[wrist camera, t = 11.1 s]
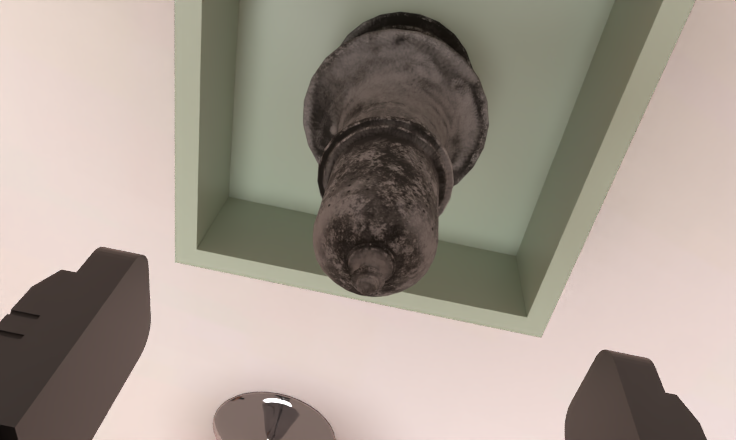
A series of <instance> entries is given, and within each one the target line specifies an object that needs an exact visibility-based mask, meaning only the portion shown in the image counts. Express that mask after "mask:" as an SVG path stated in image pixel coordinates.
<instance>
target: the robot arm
mask: <svg viewBox="0 0 736 440" xmlns="http://www.w3.org/2000/svg"><path fill="white" fill-rule="evenodd" d="M150 323H151V313H150V290H149V268H148V260H147V258H146V256H144V255H140V254H135V253H130V252H126V251H121V250H116V249H111V248H106V247H99V248H97V249H96V250H95V251H94V252H93V253H92V254H91V256H90V257H89V258H88V259H87V260H86V262H85V263H84V264H83V265H82V266H81V268H80V269H79V270H78V271H77V272H71V271H66V270H60V271H58V272H57V273H55V274H53V275H52V276H50V277H48V278H46V279H45V280H43V281H41V282H39V283H38V284H36V285H34V286H32V287H31V288H30V289H29V291H28V292H27V293H26V294H25V295H24V296H23V297H22V298H21V299H20V300H19V302H18V303H17V304H16V305H15V306H14V307H13V308H12V309H11V313H10V315H8V314H7V315H6V316H5V317H4V318H3V319H2V320H1V322H0V440H92V439H93V437H94V435H95V434H96V432H97V430H98V428H99V427H100V425H101V423H102V421H103V420H104V418H105V416H106V415H107V413H108V411H109V409H110V408H111V406H112V404H113V402H114V401H115V399H116V397H117V395H118V394H119V392H120V390H121V389H122V387H123V385H124V383H125V382H126V380H127V378H128V376H129V375H130V373H131V371H132V370H133V368H134V366H135V364H136V363H137V361H138V359H139V357H140V356H141V354H142V352H143V350H144V347H145V345H146V342H147V339H148V335H149V330H150ZM565 440H707V439H706V437H705V434H704V432H703V430H702V427H701V425H700V423H699V422H698V420H697V419H696V418H695V417H694V416H693V414H692V413H691V412H690V411H689V409H688V408H687V407H686V406H685V405H684V403H683V402H682V401H681V400H680V399H679V397H678V396H677V395H674V394H669V393H665V391H664V388H663V386H662V383H661V381H660V378H659V376H658V373H657V371H656V368H655V366H654V364H653V363H652V361H651V360H650V359H648V358H644V357H639V356H634V355H629V354H624V353H619V352H614V351H610V350H602V351H601V352H599V354H598V355H597V356H596V358H595V360H594V362H593V363H592V365H591V367H590V369H589V371H588V372H587V374H586V376H585V378H584V380H583V381H582V383H581V385H580V387H579V389H578V391H577V392H576V394H575V396H574V398H573V400H572V401H571V403H570V405H569V408H568V411H567V415H566V420H565Z"/></svg>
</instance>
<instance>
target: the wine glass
mask: <svg viewBox="0 0 736 440" xmlns="http://www.w3.org/2000/svg"><path fill="white" fill-rule="evenodd" d="M213 430H214V434H215V437H216V439H217V440H335V437H334V433H333V430H332V428H331V426H330V425H329V423H328V422H327V420H326V419H325V418H324V417H323V416H322V415H321V414H320V413H319V412H318V411H316V410H315V409H313V408H312V407H311V406H309V405H307V404H305V403H303V402H302V401H299V400H297V399H294V398H292V397H289V396H285V395H281V394H276V393H268V392H254V393H246V394H242V395H239V396H236V397H233V398H231V399H229V400H227V401H226V402H225V403H223V404H222V405H221V406H220V407H219V409H218V410H217V411H216V414H215V416H214V420H213Z"/></svg>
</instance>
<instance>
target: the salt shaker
mask: <svg viewBox="0 0 736 440" xmlns="http://www.w3.org/2000/svg"><path fill="white" fill-rule="evenodd" d="M303 126H304V130H305V134H306V139H307V143H308V146H309V148H310V150H311V152H312V153H313V155H314V157H315V159H316V161H317V163H318V178H317V182H318V186H319V191H320V196H321V198H322V202H321V205H320V208H319V211H318V214H317V217H316V220H315V223H314V228H313V247H314V252H315V256H316V260H317V261H318V263H319V265H320V267H321V268H322V270H323V272H324V273H325V274H326V275H327V276H328V277H329V278H330V279H331V280H332V281H333V282H335V283H336V284H337V285H339V286H340V287H342V288H344V289H345V290H347V291H349V292H352V293H355V294H357V295H361V296H368V297H382V296H388V295H392V294H395V293H399V292H402V291H404V290H406V289H408V288H409V287H411V286H413V285H415V284H416V283H417V282H418V281H419V280H420V279H421V278H422V277H423V276H424V275H425V274H426V273H427V271H428V269H429V268H430V266H431V264H432V262H433V260H434V258H435V255H436V251H437V246H438V228H439V216H440V215H441V214H442V213H443V212H444V210H445V208H446V206H447V204H448V202H449V200H450V198H451V194H452V189H453V186H455V185H457V184H458V183H459V182H460V181H461V180H462V179H463V178H464V177H465V176H466V175H467V174H468V173H469V171H470V170H471V169H472V168H473V167H474V165H475V163H476V162H477V160H478V158H479V156H480V154H481V152H482V151H483V149H484V146H485V141H486V137H487V132H488V128H489V116H488V101H487V98H486V95H485V93H484V90H483V87H482V84H481V82H480V79H479V77H478V76H477V74H476V73H475V72H474V70H473V67H472V65H471V62H470V59H469V56H468V54H467V51H466V49H465V48H464V46H463V45H462V44H461V42H460V41H459V39H458V38H457V37H456V35H455V34H454V33H453V32H451V31H450V30H449V29H448V28H446V27H445V26H444V25H442V24H441V23H440V22H438V21H436V20H433V19H431V18H429V17H426V16H424V15H421V14H416V13H408V12H394V13H388V14H381V15H378V16H376V17H374V18H372V19H369V20H367V21H365V22H363V23H361V24H360V25H359V26H358V27H357V28H355V29H354V30H353V31H352V32H350V33H349V34H348V35H347V36H346V38H345V39H344V41H343V42H342V44H341V45H340V46H339V47H338V48H337V49H336V50H335V51H333V52H332V53H331V54H330V55H328V56H327V57H326V58H325V59H324V61H323V62H322V64H321V65H320V66H319V68H318V69H317V71H316V72H315V74H314V75H313V77H312V78H311V81H310V84H309V87H308V90H307V93H306V96H305V99H304V109H303Z"/></svg>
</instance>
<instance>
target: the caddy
mask: <svg viewBox="0 0 736 440" xmlns="http://www.w3.org/2000/svg"><path fill="white" fill-rule="evenodd" d="M695 1H696V0H174V3H175V262H176V263H181V264H186V265H191V266H196V267H201V268H205V269H210V270H215V271H220V272H225V273H230V274H235V275H239V276H244V277H249V278H254V279H259V280H264V281H269V282H273V283H278V284H283V285H288V286H293V287H298V288H303V289H307V290H312V291H317V292H322V293H327V294H332V295H337V296H341V297H346V298H351V299H356V300H361V301H366V302H371V303H375V304H380V305H385V306H390V307H395V308H400V309H405V310H409V311H414V312H419V313H424V314H429V315H434V316H439V317H443V318H448V319H453V320H458V321H463V322H468V323H473V324H477V325H482V326H487V327H492V328H497V329H502V330H507V331H511V332H516V333H521V334H526V335H531V336H536V337H542V335H543V333H544V330H545V328H546V326H547V324H548V322H549V319H550V317H551V315H552V313H553V311H554V309H555V306H556V304H557V302H558V300H559V298H560V295H561V293H562V291H563V289H564V287H565V285H566V282H567V280H568V278H569V276H570V274H571V271H572V269H573V267H574V265H575V263H576V261H577V258H578V256H579V254H580V252H581V250H582V247H583V245H584V243H585V241H586V239H587V237H588V234H589V232H590V230H591V228H592V226H593V223H594V221H595V219H596V217H597V215H598V213H599V210H600V208H601V206H602V204H603V202H604V199H605V197H606V195H607V193H608V191H609V189H610V186H611V184H612V182H613V180H614V178H615V175H616V173H617V171H618V169H619V167H620V165H621V162H622V160H623V158H624V156H625V154H626V151H627V149H628V147H629V145H630V143H631V141H632V138H633V136H634V134H635V132H636V130H637V127H638V125H639V123H640V121H641V119H642V117H643V114H644V112H645V110H646V108H647V106H648V103H649V101H650V99H651V97H652V95H653V93H654V90H655V88H656V86H657V84H658V82H659V79H660V77H661V75H662V73H663V71H664V69H665V66H666V64H667V62H668V60H669V58H670V55H671V53H672V51H673V49H674V47H675V45H676V42H677V40H678V38H679V36H680V34H681V31H682V29H683V27H684V25H685V23H686V21H687V18H688V16H689V14H690V12H691V10H692V7H693V5H694V3H695ZM394 12H408V13H416V14H421V15H424V16H426V17H429V18H431V19H433V20H436V21H438V22H440V23H441V24H442V25H444V26H445V27H446V28H448V29H449V30H450V31H451V32H453V33H454V34H455V35H456V37H457V38H458V39H459V41H460V42H461V44H462V45H463V46H464V48H465V49H466V51H467V54H468V56H469V59H470V62H471V65H472V67H473V70H474V72H475V73H476V74H477V76H478V77H479V79H480V82H481V84H482V87H483V90H484V93H485V95H486V98H487V101H488V116H489V128H488V132H487V137H486V141H485V146H484V149H483V151H482V152H481V154H480V156H479V158H478V160H477V162H476V163H475V165H474V167H473V168H472V169H471V170H470V171H469V173H468V174H467V175H466V176H465V177H464V178H463V179H462V180H461V181H460V182H459V183H458V184H457V185H455V186H453V189H452V194H451V198H450V200H449V202H448V204H447V206H446V208H445V210H444V212H443V213H442V214H441V215H440V216H439V228H438V246H437V251H436V255H435V258H434V260H433V262H432V264H431V266H430V268H429V269H428V271H427V273H426V274H425V275H424V276H423V277H422V278H421V279H420V280H419V281H418V282H417V283H416V284H415V285H413V286H411V287H409V288H408V289H406V290H404V291H402V292H399V293H395V294H392V295H388V296H382V297H368V296H361V295H357V294H355V293H352V292H349V291H347V290H345V289H344V288H342V287H340V286H339V285H337V284H336V283H335V282H333V281H332V280H331V279H330V278H329V277H328V276H327V275H326V274H325V273H324V272H323V270H322V268H321V267H320V265H319V263H318V261H317V260H316V256H315V252H314V247H313V228H314V223H315V220H316V217H317V214H318V211H319V208H320V205H321V202H322V198H321V196H320V191H319V186H318V182H317V178H318V163H317V161H316V159H315V157H314V155H313V153H312V152H311V150H310V148H309V146H308V143H307V139H306V134H305V130H304V126H303V109H304V99H305V96H306V93H307V90H308V87H309V84H310V81H311V78H312V77H313V75H314V74H315V72H316V71H317V69H318V68H319V66H320V65H321V64H322V62H323V61H324V59H325V58H326V57H327V56H328V55H330V54H331V53H332V52H333V51H335V50H336V49H337V48H338V47H339V46H340V45H341V44H342V42H343V41H344V39H345V38H346V36H347V35H348V34H349V33H350V32H352V31H353V30H354V29H355V28H357V27H358V26H359V25H360V24H361V23H363V22H365V21H367V20H369V19H372V18H374V17H376V16H378V15H381V14H388V13H394Z"/></svg>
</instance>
